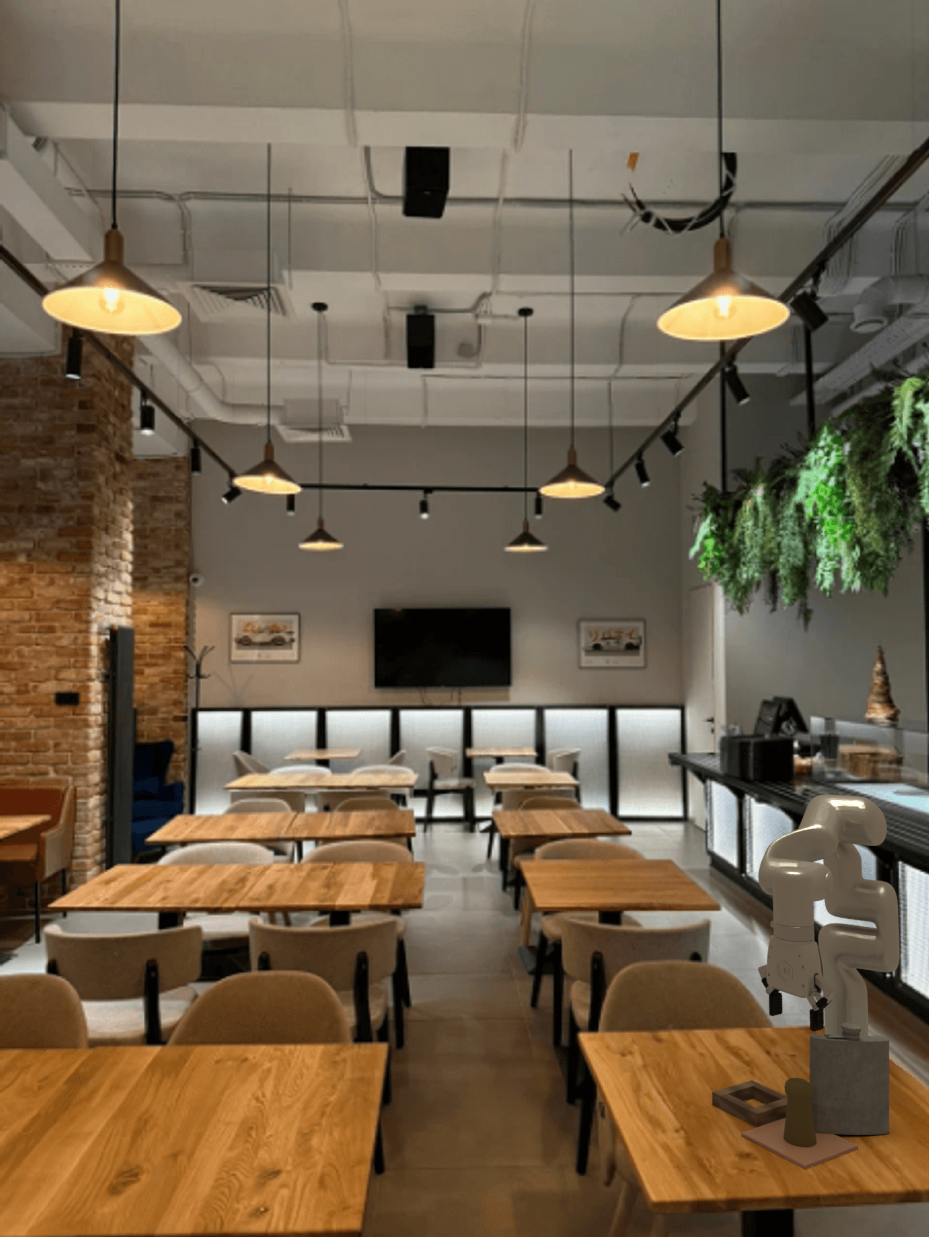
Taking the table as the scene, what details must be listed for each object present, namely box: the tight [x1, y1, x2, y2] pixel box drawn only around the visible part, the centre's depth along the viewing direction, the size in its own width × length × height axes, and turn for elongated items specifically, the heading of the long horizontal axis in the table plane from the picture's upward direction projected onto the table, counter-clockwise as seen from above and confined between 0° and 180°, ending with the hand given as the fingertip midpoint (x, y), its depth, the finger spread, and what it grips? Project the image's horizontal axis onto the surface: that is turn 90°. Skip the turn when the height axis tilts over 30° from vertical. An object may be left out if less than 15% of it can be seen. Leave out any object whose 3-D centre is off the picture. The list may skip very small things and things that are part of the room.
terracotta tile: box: [741, 1118, 859, 1170], centre depth 180 cm, size 15×15×1 cm
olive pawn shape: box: [783, 1077, 817, 1147], centre depth 180 cm, size 6×6×11 cm
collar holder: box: [711, 1079, 788, 1128], centre depth 195 cm, size 12×12×2 cm
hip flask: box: [808, 1023, 890, 1136], centre depth 185 cm, size 16×4×20 cm, turn 94°
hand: (795, 1022), depth 182 cm, fingers open, 9 cm apart
